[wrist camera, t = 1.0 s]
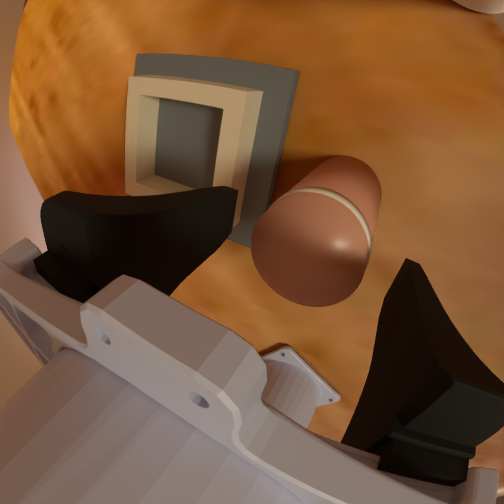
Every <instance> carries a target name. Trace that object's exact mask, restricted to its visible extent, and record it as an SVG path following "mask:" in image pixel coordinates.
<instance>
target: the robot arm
mask: <svg viewBox="0 0 504 504" xmlns="http://www.w3.org/2000/svg"><path fill="white" fill-rule="evenodd" d="M238 191H239V190H236V189H233V188H231V187H228V186H214V187H207V188H200V189H194V190H188V191H182V192H174V193H168V194H160V195H147V196H104V195H93V194H85V193H78V192H71V191H62V192H60V193H58V194H56V195H54V196H52V197H50V198H48V199H46V200H45V201H44V202H43V204H42V207H41V216H40V217H41V224H42V228H43V232H44V237H45V241H46V245H47V249H48V251H46V252H44V253H43V254H42V253H41V251H40V250H39V248H38V247H37V246H35V245H34V244H33V243H32V242H31V241H30V240H29V239H27V238H25V239H23V240H21V241H20V242H18V243H16V244H15V245H13V246H12V247H10V248H8V249H7V250H5V251H4V252H2V253H1V254H0V310H1V312H2V314H3V315H4V316H5V318H6V319H7V320H8V322H9V323H10V324H11V326H12V327H13V328H14V329H15V331H16V332H17V333H18V335H19V336H20V337H21V339H22V340H23V341H24V342H25V344H26V345H27V346H28V348H29V349H30V350H31V351H32V353H33V354H34V355H35V356H36V358H37V359H38V360H39V361H40V362H41V363H42V365H43V366H44V367H43V368H41V369H40V370H39V371H38V372H37V373H36V374H35V375H34V376H33V377H32V378H30V379H29V380H28V381H27V382H26V383H25V384H24V385H23V386H22V387H21V388H20V389H19V390H18V391H17V392H16V393H14V395H12V396H11V397H10V398H9V399H8V400H7V401H6V402H5V403H4V404H3V405H2V406H1V407H0V504H495V503H496V496H497V487H498V477H499V471H498V470H495V469H489V468H483V467H471V468H468V465H469V459H472V458H474V456H475V451H476V446H477V445H479V444H480V443H482V442H483V441H485V440H486V439H488V438H489V437H491V436H492V435H494V434H495V433H496V432H497V431H499V430H500V429H501V428H502V427H503V426H504V383H503V382H502V381H501V380H500V379H499V378H498V377H497V376H496V375H494V374H493V373H492V372H491V371H490V370H489V369H488V367H487V366H486V365H485V364H484V363H483V362H482V361H481V360H480V359H479V358H478V356H477V355H476V354H475V353H474V352H473V350H472V349H471V348H470V347H469V345H468V344H467V343H466V342H465V340H464V339H463V338H462V336H461V335H460V333H459V332H458V330H457V329H456V327H455V326H454V324H453V323H452V322H451V320H450V318H449V317H448V315H447V313H446V312H445V310H444V308H443V306H442V305H441V303H440V301H439V299H438V297H437V295H436V294H435V292H434V290H433V288H432V286H431V284H430V282H429V280H428V278H427V276H426V274H425V272H424V270H423V269H422V267H421V266H420V264H418V263H416V262H414V261H412V260H409V259H407V258H406V259H405V261H404V263H403V265H402V266H401V268H400V270H399V272H398V274H397V276H396V278H395V279H394V281H393V283H392V285H391V287H390V289H389V290H388V292H387V294H386V296H385V297H384V301H383V305H382V308H381V312H380V315H379V320H378V326H377V332H376V338H375V344H374V350H373V356H372V361H371V366H370V370H369V373H368V376H367V379H366V382H365V385H364V388H363V391H362V394H361V396H360V399H359V402H358V404H357V407H356V409H355V412H354V414H353V417H352V419H351V421H350V423H349V426H348V428H347V430H346V432H345V434H344V437H343V439H342V441H341V443H339V442H337V441H334V440H331V439H329V438H326V437H323V436H321V435H318V434H316V433H313V432H311V431H309V430H308V429H307V428H308V425H309V423H310V421H311V419H312V416H313V414H314V411H315V409H316V407H318V406H322V405H326V404H330V403H334V402H338V401H339V400H340V395H339V394H338V393H337V392H336V391H335V390H334V389H333V388H331V387H330V386H329V385H328V384H327V383H326V382H325V381H324V380H323V379H322V378H321V377H320V376H319V375H318V374H317V373H316V372H315V371H314V370H313V369H312V368H311V367H310V366H309V365H308V364H307V363H306V362H305V361H304V360H303V359H302V358H301V357H300V356H299V355H298V354H297V353H296V352H295V351H294V350H293V349H292V348H291V347H289V346H283V347H281V348H279V349H276V350H274V351H272V352H270V353H267V354H265V355H263V356H260V355H259V354H258V352H257V351H256V350H255V348H254V347H253V345H252V344H251V343H249V342H248V341H247V340H245V339H244V338H242V337H241V336H240V335H238V334H237V333H235V332H234V331H233V330H231V329H229V328H227V327H225V326H223V325H222V324H220V323H218V322H216V321H214V320H212V319H210V318H208V317H206V316H204V315H203V314H201V313H199V312H197V311H195V310H193V309H191V308H190V307H188V306H186V305H184V304H182V303H180V302H179V301H177V300H175V299H173V298H171V297H170V295H171V294H172V293H173V291H174V290H175V289H176V288H177V287H178V286H179V284H180V283H181V282H182V281H183V280H184V279H185V278H186V277H187V276H188V275H190V274H191V273H192V272H193V271H194V270H195V269H196V268H197V267H198V266H200V265H201V264H202V263H203V262H204V261H205V260H206V259H207V258H208V257H210V256H211V255H212V254H213V253H214V252H215V251H216V250H217V249H218V248H219V247H220V246H221V245H222V244H223V242H224V241H225V240H226V239H227V237H228V236H229V235H230V234H231V232H232V228H233V221H234V215H235V209H236V203H237V197H238Z"/></svg>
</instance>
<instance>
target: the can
mask: <svg viewBox="0 0 504 504" xmlns="http://www.w3.org/2000/svg"><path fill="white" fill-rule="evenodd" d="M453 1H455V2H456V3H458V4H460V5H462V6H464V7H466V8H468V9H471V10H474V11H477V12H481V13H487V14H498V13H503V12H504V0H453Z"/></svg>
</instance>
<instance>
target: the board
mask: <svg viewBox="0 0 504 504" xmlns="http://www.w3.org/2000/svg"><path fill="white" fill-rule="evenodd" d="M299 73H300V71H295V70H291V69H286V68H281V67H276V66H271V65H265V64H259V63H253V62H247V61H240V60H232V59H224V58H215V57H205V56H193V55H176V54H137V57H136V66H135V76H129V83H128V96H127V111H126V134H125V193H126V194H129V195H130V196H147V195H160V194H168V193H174V192H182V191H188V190H194V189H200V188H207V187H214V186H228V187H231V188H233V189H236V190H239V191H238V197H237V203H236V209H235V215H234V221H233V228H232V232H231V234H230V235H229V236H228V237H227V238H228V239H230V240H232V241H235V242H237V243H239V244H242V245H244V246H246V247H249V248H251V237H252V233H253V229H254V227H255V225H256V223H257V221H258V220H259V218H260V217H261V216H262V215H263V214H264V213H265V212H266V211H267V210H268V208H269V207H270V203H271V199H272V195H273V190H274V186H275V181H276V177H277V172H278V168H279V164H280V159H281V155H282V150H283V146H284V141H285V137H286V132H287V128H288V123H289V119H290V114H291V110H292V105H293V101H294V96H295V91H296V87H297V82H298V78H299Z"/></svg>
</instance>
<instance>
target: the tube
mask: <svg viewBox="0 0 504 504" xmlns="http://www.w3.org/2000/svg"><path fill="white" fill-rule="evenodd" d="M380 202H381V186H380V182H379V180H378V178H377V176H376V174H375V173H374V171H373V170H372V169H371V168H370V167H369V166H368V165H367V164H366V163H364V162H363V161H361V160H359V159H357V158H354V157H350V156H335V157H331V158H329V159H326V160H325V161H323V162H322V163H320V164H319V165H318V166H317V167H316V168H315V169H313V170H312V171H311V172H310V173H309V174H308V175H307V176H305V177H304V178H303V179H302V180H301V181H300V182H299V183H297V184H296V185H295V186H294V187H293V188H292V189H291V190H290V191H288V192H287V193H285V194H284V195H282V196H281V197H280V198H279V199H277V200H276V201H275V202H274V203H273V204H272V205H271V206H270V207H269V208H268V210H267V211H266V212H265V213H264V214H263V215H262V216H261V217H260V218H259V220H258V221H257V223H256V225H255V227H254V229H253V233H252V237H251V252H252V257H253V261H254V264H255V266H256V268H257V270H258V272H259V274H260V275H261V277H262V278H263V280H264V281H265V282H266V283H267V284H268V285H269V286H270V287H271V288H272V289H273V290H274V291H275V292H277V293H278V294H279V295H281V296H282V297H284V298H286V299H288V300H290V301H292V302H295V303H297V304H301V305H305V306H312V307H323V306H329V305H333V304H336V303H339V302H341V301H343V300H345V299H346V298H348V297H349V296H350V295H351V294H352V293H353V292H354V291H355V290H356V289H357V288H358V286H359V284H360V283H361V280H362V278H363V275H364V272H365V270H366V267H367V265H368V261H369V257H370V253H371V245H372V239H373V235H374V231H375V226H376V222H377V217H378V212H379V207H380Z"/></svg>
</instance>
